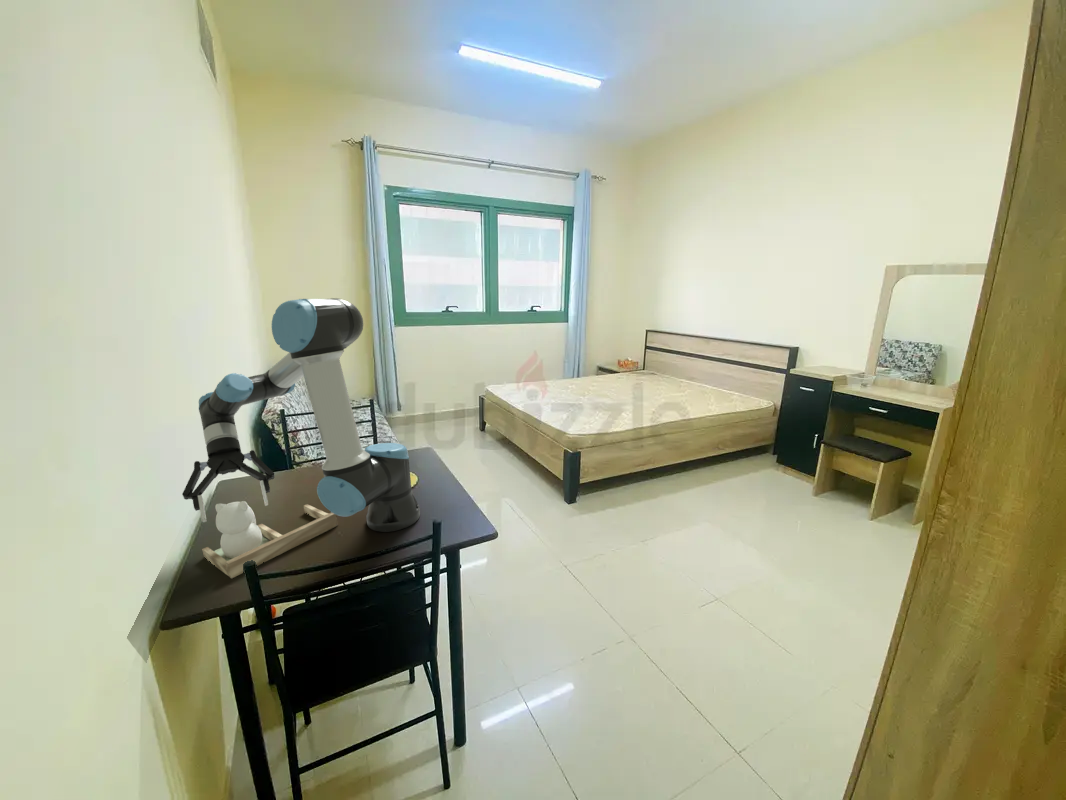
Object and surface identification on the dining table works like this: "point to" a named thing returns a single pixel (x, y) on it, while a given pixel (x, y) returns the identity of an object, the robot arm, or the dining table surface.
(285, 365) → the robot arm
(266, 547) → the organizer
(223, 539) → the cat figurine
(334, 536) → the dining table surface
